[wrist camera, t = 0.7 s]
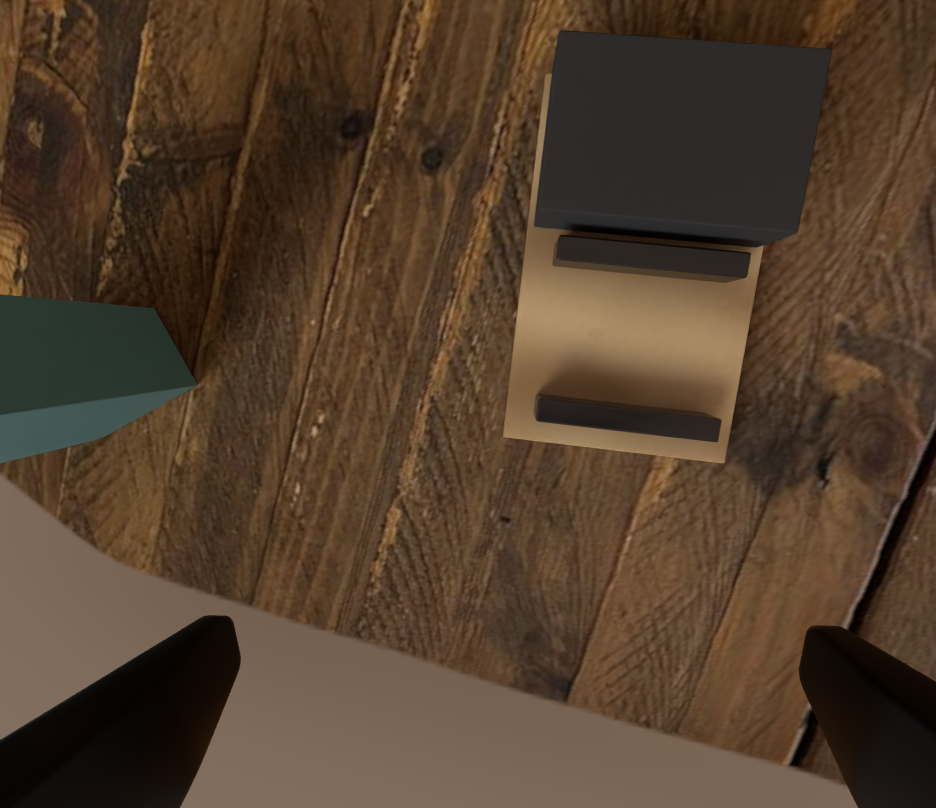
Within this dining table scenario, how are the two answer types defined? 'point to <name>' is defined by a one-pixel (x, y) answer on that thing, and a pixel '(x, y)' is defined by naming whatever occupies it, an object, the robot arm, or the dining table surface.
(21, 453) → the back pad
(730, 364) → the seat frame
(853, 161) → the dining table surface
